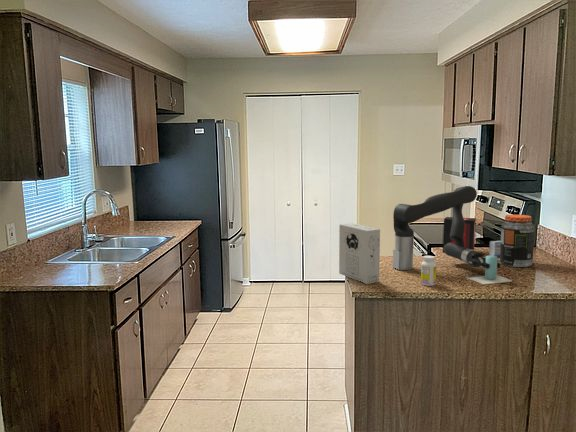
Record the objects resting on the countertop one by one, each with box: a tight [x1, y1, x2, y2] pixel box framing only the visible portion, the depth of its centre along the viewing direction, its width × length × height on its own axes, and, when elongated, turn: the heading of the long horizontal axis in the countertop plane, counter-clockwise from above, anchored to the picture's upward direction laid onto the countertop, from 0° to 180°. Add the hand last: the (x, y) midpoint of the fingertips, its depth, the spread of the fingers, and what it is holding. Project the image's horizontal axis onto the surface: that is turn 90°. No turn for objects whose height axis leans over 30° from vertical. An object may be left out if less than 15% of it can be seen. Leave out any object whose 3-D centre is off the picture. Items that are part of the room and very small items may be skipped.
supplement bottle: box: [420, 255, 437, 287], centre depth 215 cm, size 7×7×13 cm
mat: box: [466, 274, 513, 285], centre depth 222 cm, size 16×12×1 cm
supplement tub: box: [499, 214, 535, 268], centre depth 247 cm, size 16×16×26 cm
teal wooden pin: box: [484, 254, 499, 279], centre depth 220 cm, size 5×5×10 cm
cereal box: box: [338, 222, 381, 285], centre depth 225 cm, size 22×8×25 cm, turn 30°
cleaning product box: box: [442, 216, 477, 254], centre depth 277 cm, size 16×9×20 cm, turn 64°
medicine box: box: [488, 240, 501, 258], centre depth 267 cm, size 8×4×9 cm, turn 105°
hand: (494, 266), depth 218 cm, fingers closed on teal wooden pin, 5 cm apart
